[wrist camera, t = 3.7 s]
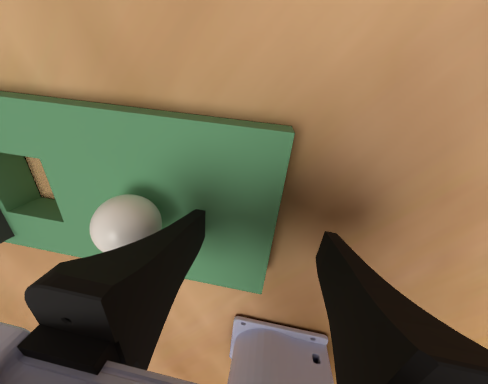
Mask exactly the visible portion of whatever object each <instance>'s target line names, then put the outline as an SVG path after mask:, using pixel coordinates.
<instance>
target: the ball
mask: <svg viewBox="0 0 488 384" xmlns="http://www.w3.org/2000/svg"><path fill="white" fill-rule="evenodd" d="M161 229H162V218H161V214H160V212H159V210H158V208H157V207H156V206H155V205H154V204H153V203H152V202H151V201H150V200H148V199H146V198H144V197H142V196H138V195H133V194H125V195H119V196H116V197H113V198H111V199H109V200H107V201H105V202H104V203H103V204H101V205H100V206H99V207H98V208H97V210H96V211H95V212H94V214H93V216H92V218H91V221H90V236H91V239H92V241H93V243H94V244H95V246H96V247H97V248H98V249H99V250H101V251H102V252H107V251H110V250H113V249H116V248H119V247H122V246H125V245H127V244H130V243H133V242H136V241H138V240H140V239H143V238H145V237H147V236H149V235H152V234H154V233H156V232H158V231H159V230H161Z"/></svg>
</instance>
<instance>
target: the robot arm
mask: <svg viewBox="0 0 488 384" xmlns="http://www.w3.org/2000/svg"><path fill="white" fill-rule="evenodd" d="M204 239H205V210H199V209H195V210H193V211H192V212H190V213H189V214H187V215H185V216H184V217H182V218H181V219H179V220H177V221H176V222H174V223H172V224H171V225H169V226H167V227H165V228H163V229H161V230H159V231H158V232H156V233H154V234H152V235H149V236H147V237H145V238H143V239H140V240H138V241H136V242H133V243H130V244H127V245H125V246H122V247H119V248H116V249H113V250H110V251H107V252H103V253H100V254H96V255H92V256H88V257H84V258H80V259H75V260H71V261H66V262H61V263H59V264H58V265H56V266H55V267H54V268H53V269H51V270H50V271H49V272H47V273H46V274H45V275H43V276H42V277H41V278H40V279H38V280H37V281H36V282H34V283H33V284H32V285H30V286H29V287H28V288H27V289H26V291H25V301H26V303H27V305H28V307H29V308H30V310H31V312H32V313H33V315H34V316H35V318H36V320H37V321H38V323H39V324H40V325H39V326H37V327H36V328H35V329H34V330H33V331H32V332H29V331H28V330H26V329H24V328H21V327H17V326H13V325H9V324H6V323H2V322H0V384H197V383H193V382H189V381H185V380H181V379H178V378H174V377H170V376H166V375H162V374H158V373H154V372H150V371H147V369H148V366H149V363H150V360H151V358H152V355H153V352H154V349H155V347H156V344H157V342H158V339H159V336H160V334H161V331H162V329H163V326H164V324H165V321H166V319H167V316H168V314H169V311H170V309H171V306H172V304H173V302H174V299H175V297H176V295H177V293H178V290H179V288H180V286H181V284H182V282H183V280H184V279H185V277H186V275H187V273H188V271H189V270H190V268H191V266H192V264H193V262H194V260H195V259H196V257H197V255H198V253H199V251H200V249H201V246H202V244H203V241H204ZM316 265H317V273H318V278H319V282H320V286H321V290H322V294H323V298H324V302H325V306H326V310H327V314H328V319H329V325H330V332H331V338H332V346H333V354H334V362H335V371H336V380H337V384H488V349H486V348H484V347H483V346H481V345H479V344H478V343H476V342H474V341H472V340H471V339H469V338H467V337H465V336H464V335H462V334H460V333H459V332H457V331H455V330H454V329H452V328H451V327H449V326H448V325H446V324H444V323H443V322H441V321H440V320H438V319H437V318H435V317H434V316H432V315H431V314H429V313H428V312H426V311H425V310H423V309H422V308H420V307H419V306H418V305H416V304H415V303H413V302H412V301H411V300H409V299H408V298H406V297H405V296H404V295H403V294H401V293H400V292H399V291H397V290H396V289H395V288H394V287H392V286H391V285H390V284H389V283H387V282H386V281H385V280H384V279H383V278H382V277H380V276H379V275H378V274H377V273H376V272H375V271H374V270H373V269H372V268H370V267H369V266H368V265H367V264H366V263H365V262H364V261H363V260H362V259H361V258H360V257H359V256H358V255H357V254H356V253H355V252H354V251H353V250H352V249H351V248H350V247H349V246H348V245H347V244H346V243H345V242H344V241H343V239H342V238H341V237H340V236H339V235H337V234H336V233H332V232H327V231H325V233H324V236H323V239H322V241H321V244H320V247H319V250H318V253H317V255H316ZM327 343H328V337H327V336H326V335H324V334H319V333H314V332H310V331H305V330H301V329H296V328H291V327H287V326H282V325H278V324H273V323H268V322H264V321H259V320H255V319H250V318H245V317H241V316H236V317H235V318H234V323H233V331H232V340H231V348H230V358H231V359H232V361H231V366H230V372H229V378H228V383H227V384H334V382H333V377H332V372H331V367H330V361H329V356H328V351H327V346H326V345H327Z"/></svg>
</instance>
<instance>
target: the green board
mask: <svg viewBox="0 0 488 384" xmlns="http://www.w3.org/2000/svg"><path fill="white" fill-rule="evenodd" d="M294 135H295V132H294V130H293V128H292V126H286V125H278V124H270V123H261V122H253V121H245V120H237V119H228V118H220V117H212V116H204V115H195V114H187V113H179V112H171V111H162V110H154V109H146V108H138V107H129V106H121V105H113V104H105V103H96V102H88V101H80V100H72V99H63V98H55V97H47V96H39V95H30V94H22V93H14V92H6V91H0V243H2V242H8V243H12V244H17V245H22V246H27V247H32V248H37V249H42V250H47V251H52V252H57V253H61V254H66V255H71V256H76V257H81V258H84V257H88V256H92V255H96V254H100V253H103V252H102V251H101V250H99V249H98V248H97V247H96V246H95V244H94V243H93V241H92V239H91V236H90V221H91V218H92V216H93V214H94V212H95V211H96V210H97V208H98V207H99V206H100V205H101V204H103V203H104V202H105V201H107V200H109V199H111V198H113V197H116V196H119V195H125V194H133V195H138V196H142V197H144V198H146V199H148V200H150V201H151V202H152V203H153V204H154V205H155V206H156V207H157V208H158V210H159V212H160V214H161V218H162V229H163V228H165V227H167V226H169V225H171V224H172V223H174V222H176V221H177V220H179V219H181V218H182V217H184V216H185V215H187V214H189V213H190V212H192V211H193V210H195V209H199V210H205V239H204V241H203V244H202V246H201V249H200V251H199V253H198V255H197V257H196V259H195V260H194V262H193V264H192V266H191V268H190V270H189V271H188V273H187V275H186V277H185V279H189V280H194V281H198V282H203V283H208V284H213V285H218V286H223V287H228V288H233V289H238V290H242V291H247V292H252V293H257V294H262V289H263V285H264V280H265V275H266V270H267V265H268V260H269V255H270V251H271V246H272V241H273V236H274V231H275V226H276V222H277V217H278V212H279V207H280V202H281V197H282V193H283V188H284V183H285V178H286V173H287V168H288V164H289V159H290V154H291V149H292V144H293V139H294ZM24 156H26V157H33V158H39V159H40V161H41V163H42V166H43V168H44V171H45V174H46V176H47V179H48V181H49V184H50V187H51V189H52V192H53V194H54V197H55V199H49V198H43V197H41V196H40V193H39V191H38V189H37V186H36V184H35V182H34V179H33V177H32V174H31V172H30V170H29V167H28V165H27V162H26V160H25V158H24Z"/></svg>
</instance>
